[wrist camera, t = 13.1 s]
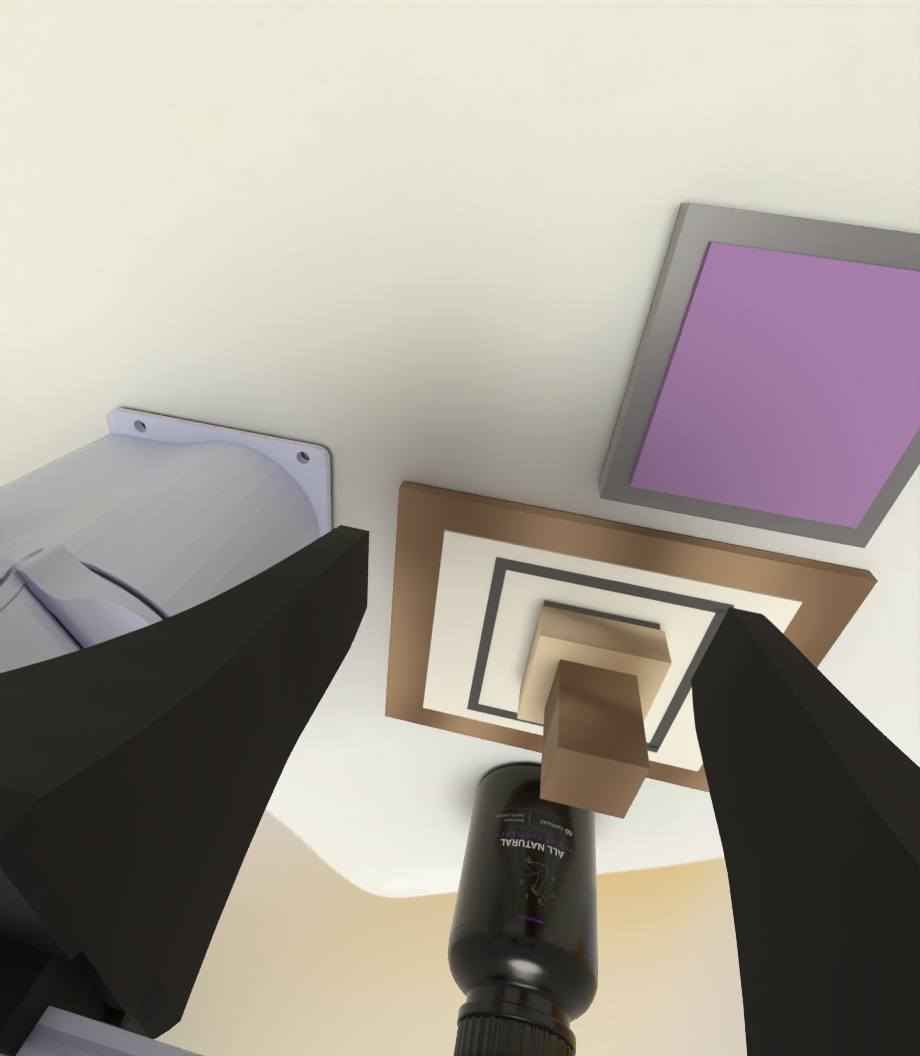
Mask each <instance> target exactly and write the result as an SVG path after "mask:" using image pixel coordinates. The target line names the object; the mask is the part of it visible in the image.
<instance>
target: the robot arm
mask: <svg viewBox="0 0 920 1056" xmlns="http://www.w3.org/2000/svg"><path fill="white" fill-rule="evenodd" d="M107 421H108V425H109V428H110V432H111V434H109V435H107V436H105V437H103V438H101V439H99V440H97V441H94V442H92V443H90V444H88V445H86V446H84V447H82V448H80V449H78V450H76V451H74V452H72V453H70V454H68V455H66V456H64V457H62V458H59V459H57V460H55V461H53V462H51V463H49V464H47V465H45V466H43V467H41V468H39V469H37V470H35V471H33V472H31V473H29V474H27V475H24V476H22V477H20V478H18V479H16V480H14V481H12V482H10V483H8V484H6V485H4V486H2V487H0V1056H202V1055H199V1054H196V1053H193V1052H190V1051H187V1050H184V1049H181V1048H178V1047H175V1046H172V1045H169V1044H166V1043H162V1042H159V1041H156V1040H153V1039H155V1038H157V1037H159V1036H160V1035H162V1034H164V1033H165V1032H167V1031H168V1030H170V1029H171V1028H172V1027H173V1026H175V1025H176V1024H177V1023H178V1022H180V1020H181V1018H182V1015H183V1013H184V1010H185V1007H186V1004H187V1002H188V999H189V996H190V994H191V991H192V988H193V985H194V983H195V981H196V978H197V975H198V973H199V970H200V968H201V965H202V962H203V960H204V957H205V955H206V952H207V949H208V947H209V944H210V942H211V939H212V936H213V933H214V931H215V929H216V926H217V924H218V921H219V919H220V916H221V914H222V911H223V909H224V906H225V904H226V901H227V899H228V896H229V894H230V892H231V889H232V887H233V884H234V882H235V879H236V877H237V874H238V872H239V869H240V867H241V865H242V862H243V859H244V857H245V855H246V853H247V850H248V848H249V845H250V843H251V841H252V839H253V836H254V834H255V832H256V829H257V827H258V825H259V822H260V820H261V818H262V815H263V813H264V811H265V808H266V806H267V804H268V802H269V800H270V797H271V795H272V793H273V791H274V788H275V786H276V784H277V782H278V779H279V777H280V775H281V773H282V771H283V768H284V766H285V764H286V762H287V760H288V758H289V756H290V754H291V752H292V750H293V748H294V746H295V744H296V742H297V740H298V738H299V737H300V735H301V733H302V731H303V730H304V728H305V726H306V724H307V723H308V721H309V719H310V717H311V716H312V714H313V712H314V711H315V709H316V707H317V705H318V704H319V702H320V700H321V698H322V697H323V695H324V693H325V691H326V690H327V688H328V686H329V684H330V683H331V681H332V679H333V677H334V676H335V674H336V672H337V670H338V669H339V667H340V665H341V663H342V661H343V660H344V658H345V656H346V654H347V653H348V651H349V649H350V647H351V645H352V642H353V640H354V638H355V635H356V633H357V630H358V628H359V626H360V623H361V621H362V618H363V615H364V613H365V610H366V608H367V591H368V553H369V531H366V530H361V529H357V528H352V527H347V526H342V525H340V526H339V527H337V528H335V529H333V530H332V529H331V471H330V455H329V453H328V452H327V450H326V449H325V448H323V447H321V446H319V445H314V444H309V443H304V442H298V441H293V440H288V439H283V438H277V437H272V436H267V435H262V434H256V433H251V432H246V431H240V430H235V429H230V428H225V427H219V426H214V425H209V424H204V423H198V422H193V421H188V420H182V419H177V418H172V417H167V416H161V415H156V414H151V413H146V412H140V411H135V410H130V409H124V408H115V409H113V410H111V411H109V412H108V414H107ZM141 422H143V423H144V424H145V426H146V428H144V427H143V426H142V424H141ZM301 452H304V453H306V454H307V455H308V457H309V460H306V459H304V458H303V457H302V455H301ZM691 686H692V700H693V712H694V721H695V730H696V734H697V739H698V744H699V748H700V752H701V757H702V761H703V766H704V770H705V774H706V778H707V783H708V787H709V791H710V795H711V800H712V804H713V808H714V812H715V817H716V821H717V825H718V829H719V834H720V838H721V842H722V846H723V851H724V857H725V862H726V867H727V872H728V878H729V885H730V893H731V901H732V909H733V916H734V924H735V932H736V940H737V948H738V958H739V968H740V978H741V987H742V996H743V1006H744V1019H745V1032H746V1045H747V1056H920V767H919V766H917V765H916V764H915V763H914V762H913V761H912V760H911V759H910V758H909V757H908V756H906V755H905V754H904V753H903V752H902V751H901V750H900V749H899V748H898V747H897V746H896V745H895V744H894V743H892V742H891V741H890V740H889V739H888V738H887V737H886V736H885V735H884V734H883V733H882V732H881V731H879V730H878V729H877V728H876V727H875V726H874V725H873V724H872V723H871V722H870V721H869V720H868V719H867V718H866V717H865V716H864V715H863V714H862V713H861V712H860V711H859V710H858V709H857V708H856V707H855V706H854V705H853V704H852V703H851V702H850V701H849V700H848V699H847V698H846V697H845V696H844V695H843V694H842V693H841V692H840V691H839V690H838V689H837V688H836V687H835V686H834V685H833V684H832V683H831V682H830V681H829V680H828V679H827V678H826V677H825V676H824V675H823V674H822V673H821V672H820V671H819V670H818V669H817V668H816V667H815V666H814V665H813V664H812V663H811V662H810V661H809V660H808V659H807V657H806V656H805V655H804V654H803V653H802V652H801V651H800V650H799V649H798V648H797V647H796V646H795V645H794V644H793V643H792V642H791V641H790V640H789V639H788V638H787V637H786V636H785V635H784V634H783V633H782V632H781V631H780V630H779V629H778V628H777V627H776V626H775V625H774V624H773V623H772V622H771V621H770V620H768V619H767V618H766V617H765V616H764V615H763V614H760V613H755V612H750V611H745V610H741V609H736V608H731V607H729V609H728V611H727V613H726V615H725V616H724V618H723V620H722V622H721V624H720V626H719V628H718V630H717V632H716V633H715V635H714V637H713V639H712V641H711V643H710V645H709V647H708V649H707V651H706V652H705V654H704V656H703V658H702V660H701V662H700V664H699V666H698V668H697V669H696V671H695V673H694V675H693V677H692V679H691Z"/></svg>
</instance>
